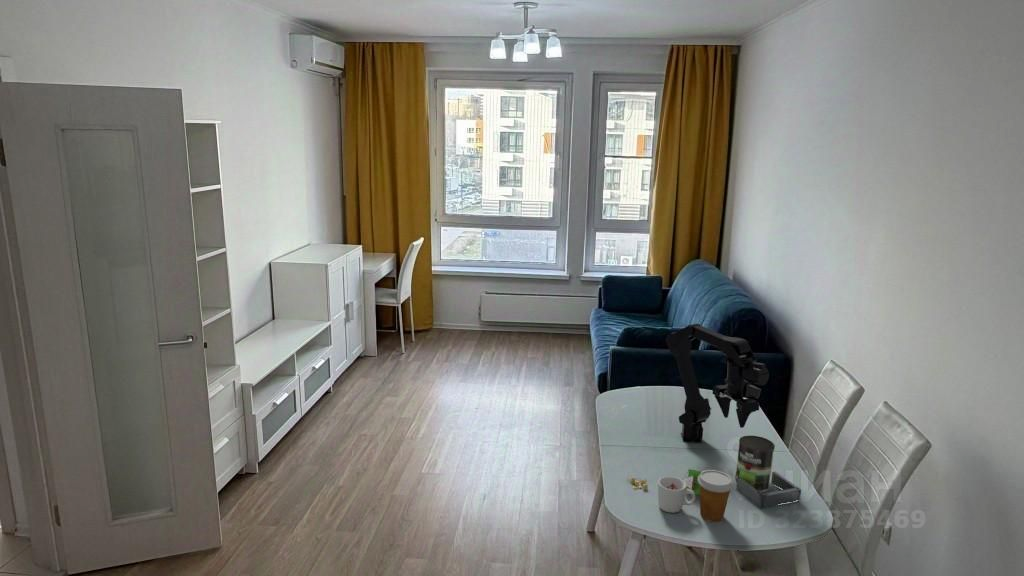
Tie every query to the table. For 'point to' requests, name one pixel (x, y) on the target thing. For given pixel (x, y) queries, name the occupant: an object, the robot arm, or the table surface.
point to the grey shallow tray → (773, 498)
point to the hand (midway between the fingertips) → (733, 422)
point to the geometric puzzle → (692, 481)
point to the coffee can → (755, 461)
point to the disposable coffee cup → (714, 494)
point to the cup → (673, 494)
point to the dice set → (643, 482)
